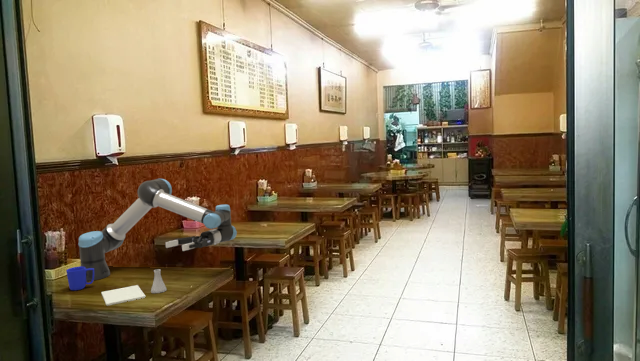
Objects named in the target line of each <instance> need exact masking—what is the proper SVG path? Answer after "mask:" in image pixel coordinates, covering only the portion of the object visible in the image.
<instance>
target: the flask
mask: <svg viewBox="0 0 640 361" xmlns="http://www.w3.org/2000/svg"><path fill="white" fill-rule="evenodd" d="M153 272H154V277H153V282H152V285H151V290H150V292H151V294H160V293H164V292H166V291H168V289H167V287H166V285H165V283H164V280H163V278H162V275H161V274H162V273H161V269H159V268H158V269H154V270H153Z"/></svg>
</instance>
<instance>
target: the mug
mask: <svg viewBox="0 0 640 361" xmlns="http://www.w3.org/2000/svg"><path fill="white" fill-rule="evenodd" d="M87 270H93V278H92V281H89V282H88V281H86V271H87ZM66 276H67V281H68V287H69V289H70V291H79V290H83V289H85V287H86V285H90V284H93V283H94V281H95V280H94V268H89V269H85V267H80V266H73V267H70V268H68V269H66Z"/></svg>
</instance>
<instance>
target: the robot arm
mask: <svg viewBox="0 0 640 361" xmlns="http://www.w3.org/2000/svg"><path fill="white" fill-rule="evenodd" d="M172 194H173V189H172V185H171V183H170V182H169V181H168V180H166V179H164V178H156V179H152V180H146V181H143V182H142V183H141V184H140V185H139V186H138V189H137V197H138V198H137V199H136V200H135V201H134V202H133V203H132V204H131V205H130V206H129V207H128V208H127V209H126V210H125V211H124V212H123V213H122V214H121V215H120V216H119V217H118V218H117V219H116V220H115V221H114V223H108V224H107V225H106V226H105V227H104V228H103V229H102V230H100V231H99V230H96V231H95V230H94V231H89V232H86V233H82V234H81V235H80V236H79V237H78V244H77V245H78V248H79V249H78V251H79V260H80V266H79V267H85V269H89V268H94V280H93V281H96V280H101V279H105V278H107V277H109V276H111V271H110V269H109V265H108V264H107V262H106V256H105V254H106V253H108V252H111V251H114V250H117V249H118V248H119V247H121V246H122V245H123V242H124V240H125V239H126V234H127V233H128V232H129V231H130V230H131V229H132V228H133V227H134V226H136V224H137V223H138V222H139V221H140V220H141V219H142V218H143V217H144V216H145V215H146V214H147V213H148V212H149V211H150V210H151V209H152V208H157V207H159V208H162V209H165V210H167V211H170V212H172V213H175V214H177V215H180V216H182V217H184V218H188V219H190V220H193V221H195V222H199V223H201V224H203V225H204V227H205V228H206V229H209V230H206V231H202V232H201V233H200V234H199V235H193V236H188V237H180V238H175V239H174V240H169V241H165V248H166V249H168V248H172V247H173V248H174V247H179V245H181V249H182V252H185V251H189V250H193V249H198V248H199V249H201V248H203V247H209V246H212V245H214V246H216V245H217V244H220V243H224V242H228V241H232V240H234V239H235V238H236V237H237V234H238V231H237V230H236V227H235V226H234V225H232V216H231V214H232V212H231V211H232V210H231V207H230V205H229V204H219V205H218V204H217V205H216V206H215V211H213V210H211V209H208V208H206V207H203V206H200V205H198V204H195V203H193V202H190V201H187V200H185V199H183V198H180V197H177V196H174V195H172ZM92 278H93V270H87V271H86V282H91V281H92Z"/></svg>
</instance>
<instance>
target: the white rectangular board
mask: <svg viewBox="0 0 640 361" xmlns="http://www.w3.org/2000/svg"><path fill="white" fill-rule="evenodd" d="M101 297H102V298H103V300H104V303H105V305H106V306H107V307H109V306H112V305H113V306H114V305H117V304H121V303H126V302H127V301H128V302H132V301H136V299H137V300H142V299H146V298H145V297H146V295H145V293H144V292H143V290H142V289H141V288H140V286H139V284H136V285H131V286H126V287H122V288H116V289H111V290H105V291H101ZM141 298H142V299H141Z"/></svg>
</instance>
